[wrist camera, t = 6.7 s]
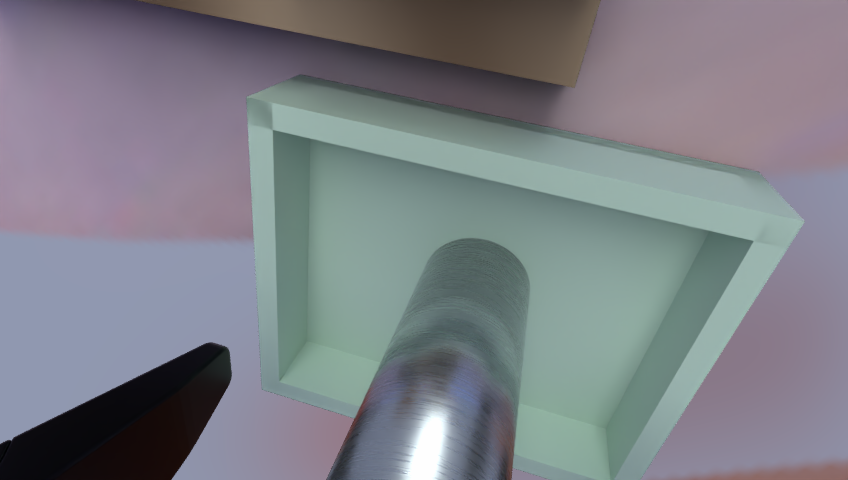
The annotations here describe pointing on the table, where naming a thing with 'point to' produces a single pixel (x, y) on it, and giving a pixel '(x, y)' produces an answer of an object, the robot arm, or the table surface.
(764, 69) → the table surface
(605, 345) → the tray
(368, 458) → the pin
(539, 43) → the block
